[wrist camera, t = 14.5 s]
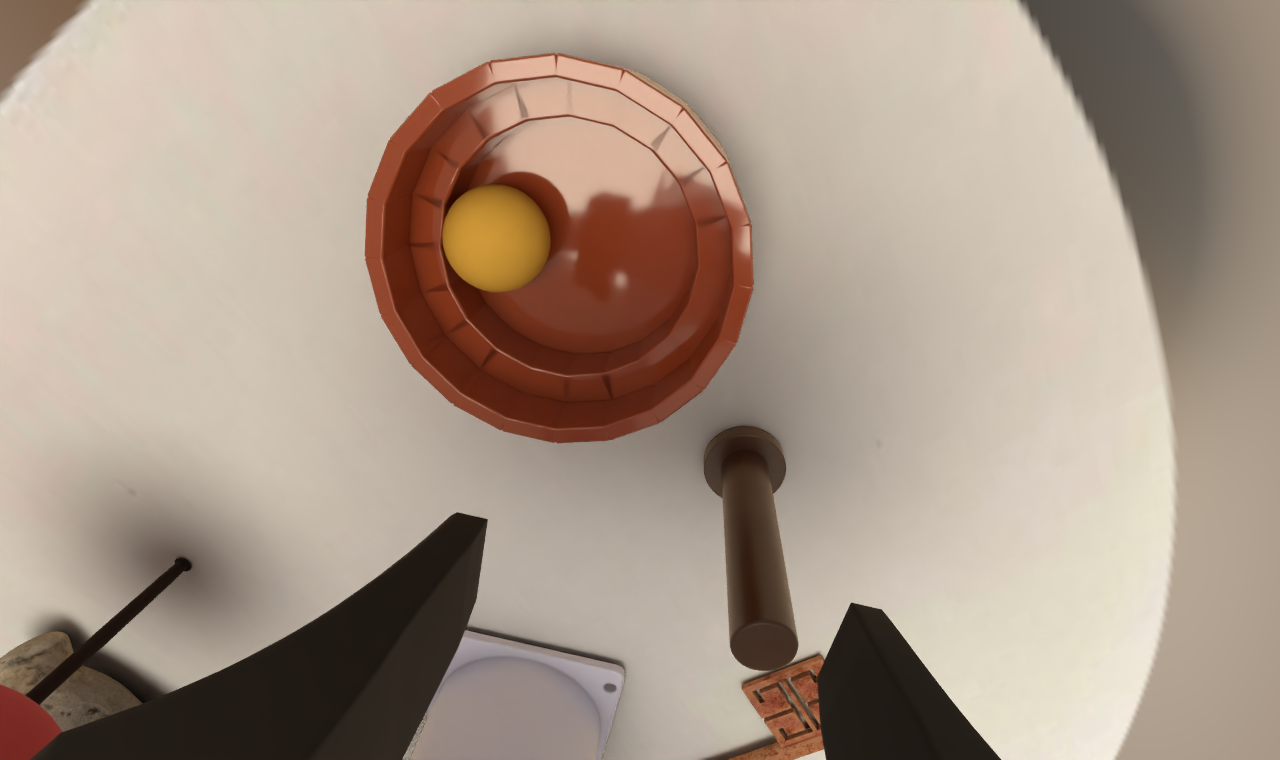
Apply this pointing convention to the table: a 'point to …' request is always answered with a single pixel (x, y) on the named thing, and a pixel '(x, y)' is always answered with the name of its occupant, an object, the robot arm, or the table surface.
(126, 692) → the stone
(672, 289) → the bowl
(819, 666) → the key
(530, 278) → the ball
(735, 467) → the stick
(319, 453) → the table surface
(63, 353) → the table surface
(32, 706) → the lollipop
